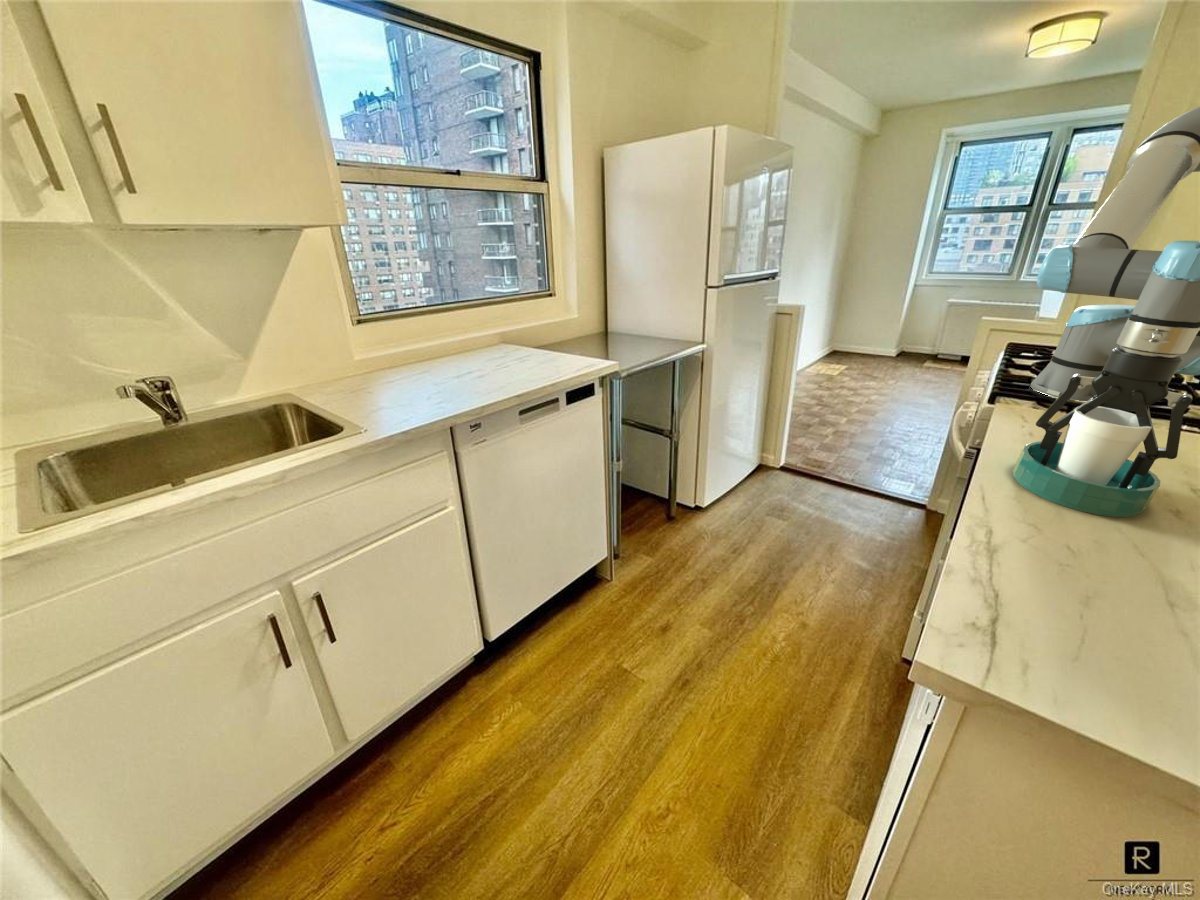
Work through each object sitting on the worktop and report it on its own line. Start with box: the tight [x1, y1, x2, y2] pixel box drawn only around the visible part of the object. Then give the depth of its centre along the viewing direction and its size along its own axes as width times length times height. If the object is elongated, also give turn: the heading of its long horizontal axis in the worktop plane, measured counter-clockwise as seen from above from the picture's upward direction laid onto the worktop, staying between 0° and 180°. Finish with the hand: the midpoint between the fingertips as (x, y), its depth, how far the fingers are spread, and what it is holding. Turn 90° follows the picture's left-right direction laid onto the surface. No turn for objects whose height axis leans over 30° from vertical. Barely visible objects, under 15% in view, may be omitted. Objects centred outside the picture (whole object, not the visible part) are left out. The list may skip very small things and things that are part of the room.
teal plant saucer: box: [1012, 440, 1162, 518], centre depth 84 cm, size 17×17×5 cm
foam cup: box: [1055, 406, 1155, 486], centre depth 81 cm, size 10×9×13 cm
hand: (1080, 477), depth 84 cm, fingers open, 10 cm apart
